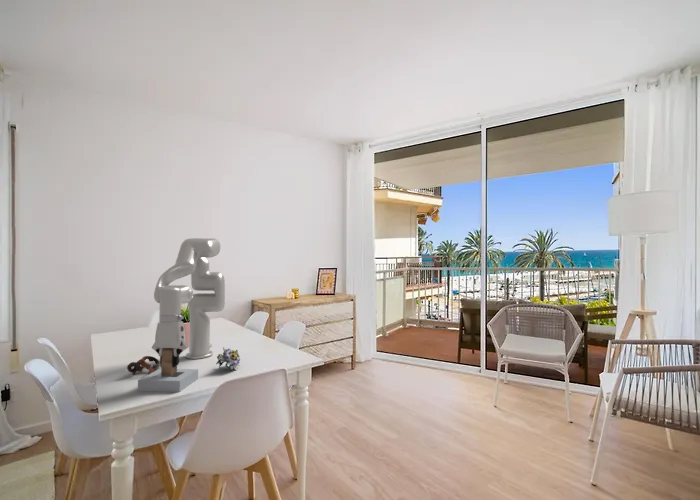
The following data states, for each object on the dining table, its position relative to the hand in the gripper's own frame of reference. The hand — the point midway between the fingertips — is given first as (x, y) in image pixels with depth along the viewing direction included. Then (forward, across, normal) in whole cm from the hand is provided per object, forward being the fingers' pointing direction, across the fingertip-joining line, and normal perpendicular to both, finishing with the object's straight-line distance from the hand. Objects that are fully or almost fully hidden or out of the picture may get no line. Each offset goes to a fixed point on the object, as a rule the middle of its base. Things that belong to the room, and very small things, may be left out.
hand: (169, 365), depth 136 cm
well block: (+7, 0, 0) cm, 7 cm away
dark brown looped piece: (+8, +19, -12) cm, 24 cm away
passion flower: (+8, -15, -20) cm, 26 cm away
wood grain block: (+3, 0, 0) cm, 3 cm away
